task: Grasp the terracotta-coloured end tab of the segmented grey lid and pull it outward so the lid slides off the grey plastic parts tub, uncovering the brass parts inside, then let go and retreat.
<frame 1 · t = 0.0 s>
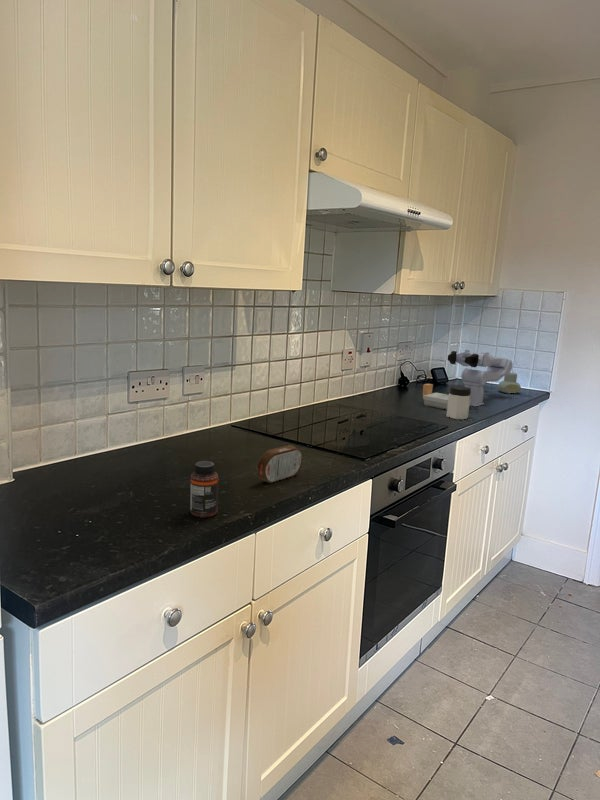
hand: (457, 358, 250), 22 cm above the countertop, tool horizontal, fingers open, 7 cm apart
jar: (457, 417, 241), on the countertop
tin: (280, 480, 156), on the countertop
air freshener: (508, 393, 304), on the countertop
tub: (446, 407, 259), on the countertop
supplement bottle: (203, 514, 132), on the countertop
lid: (444, 393, 259), point 6 cm above the countertop, slide at 0.0 cm
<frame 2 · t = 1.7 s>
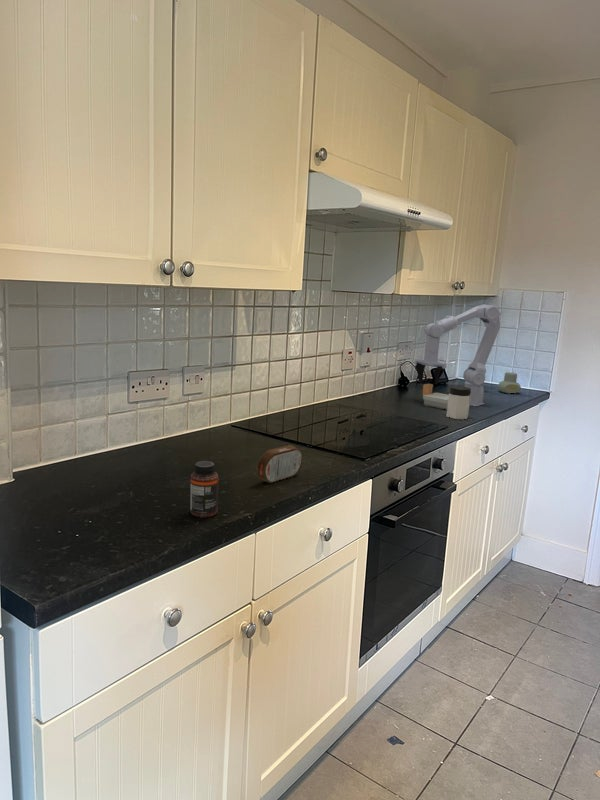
hand: (428, 382, 263), 9 cm above the countertop, tool pointing down, fingers open, 7 cm apart
nothing on the countertop moved.
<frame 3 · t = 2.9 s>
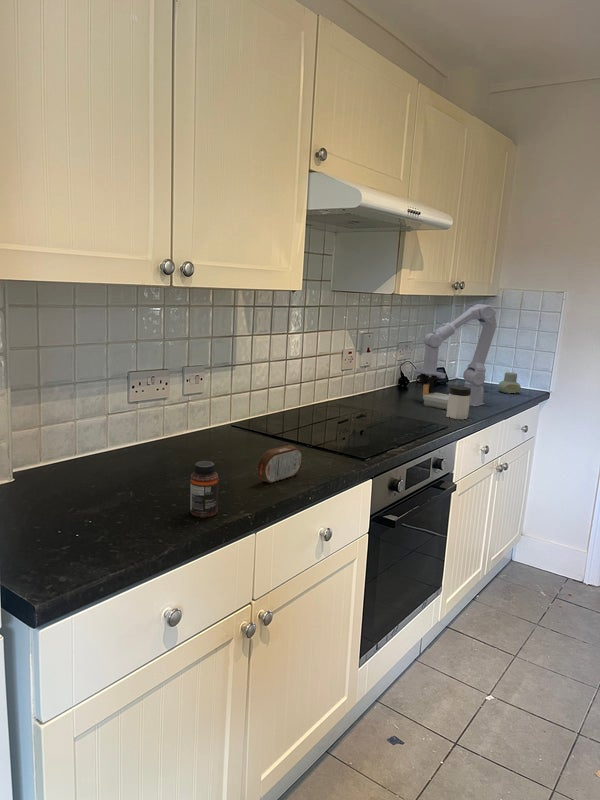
hand: (427, 392, 264), 5 cm above the countertop, tool pointing down, fingers closed on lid, 2 cm apart
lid: (444, 393, 259), point 6 cm above the countertop, slide at 0.0 cm, touching gripper
everything else where it was.
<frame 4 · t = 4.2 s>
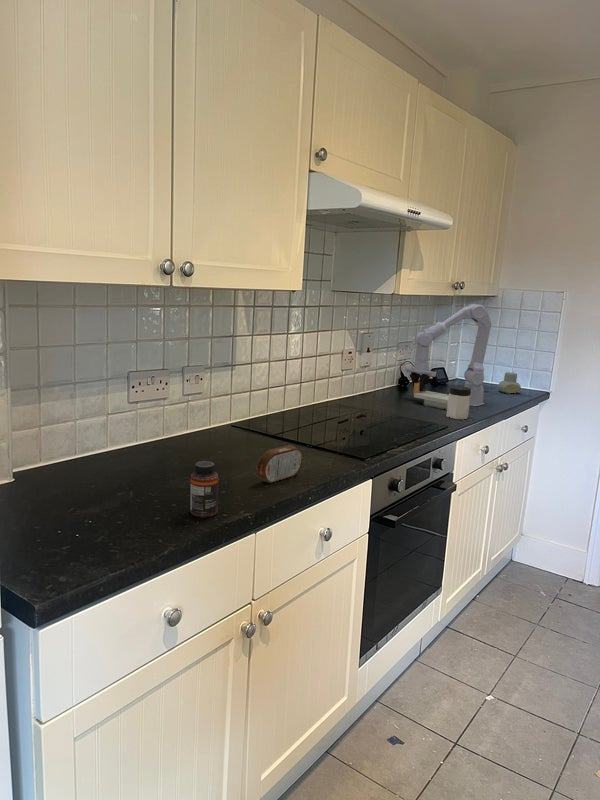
hand: (418, 390, 267), 5 cm above the countertop, tool pointing down, fingers closed on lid, 2 cm apart
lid: (435, 392, 262), point 6 cm above the countertop, slide at 4.5 cm, touching gripper
everything else where it was.
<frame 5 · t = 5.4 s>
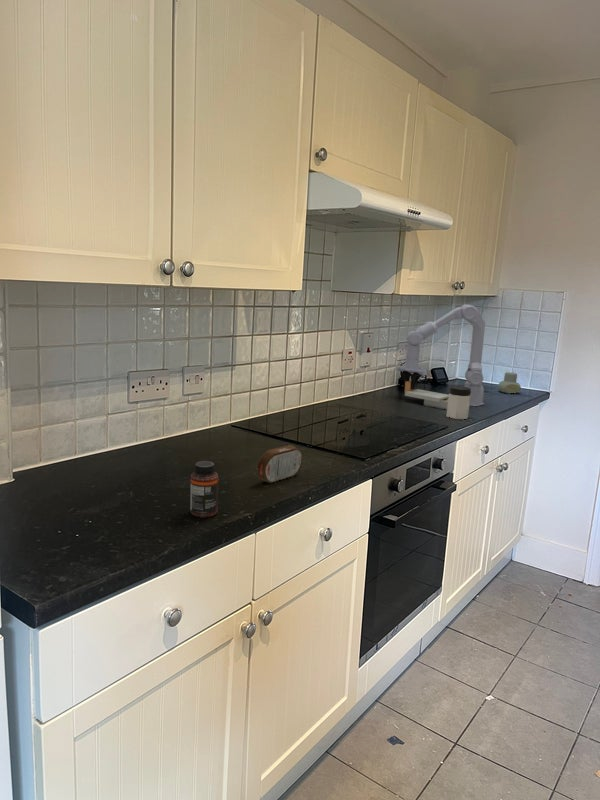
hand: (409, 388, 270), 5 cm above the countertop, tool pointing down, fingers closed on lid, 2 cm apart
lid: (426, 390, 265), point 6 cm above the countertop, slide at 9.0 cm, touching gripper
everything else where it was.
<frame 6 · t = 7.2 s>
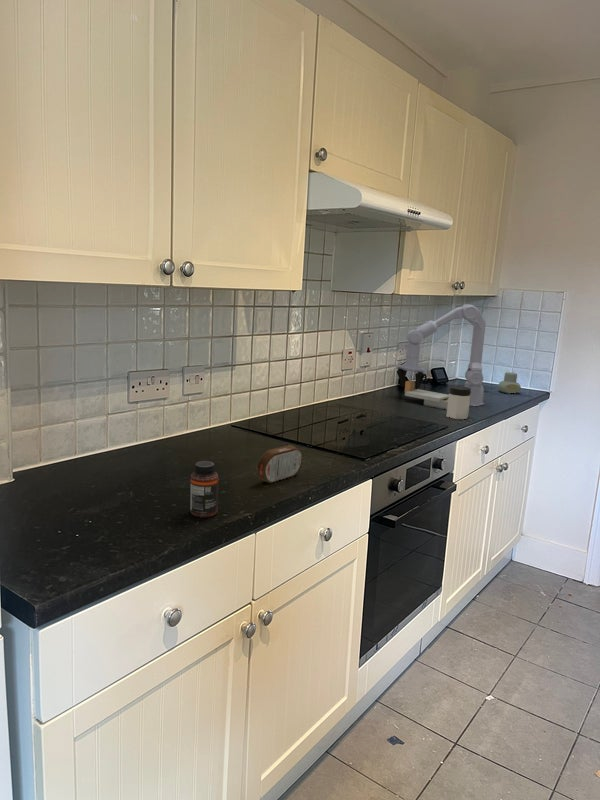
hand: (409, 387, 270), 6 cm above the countertop, tool pointing down, fingers open, 7 cm apart
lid: (426, 390, 265), point 6 cm above the countertop, slide at 9.0 cm
everything else where it was.
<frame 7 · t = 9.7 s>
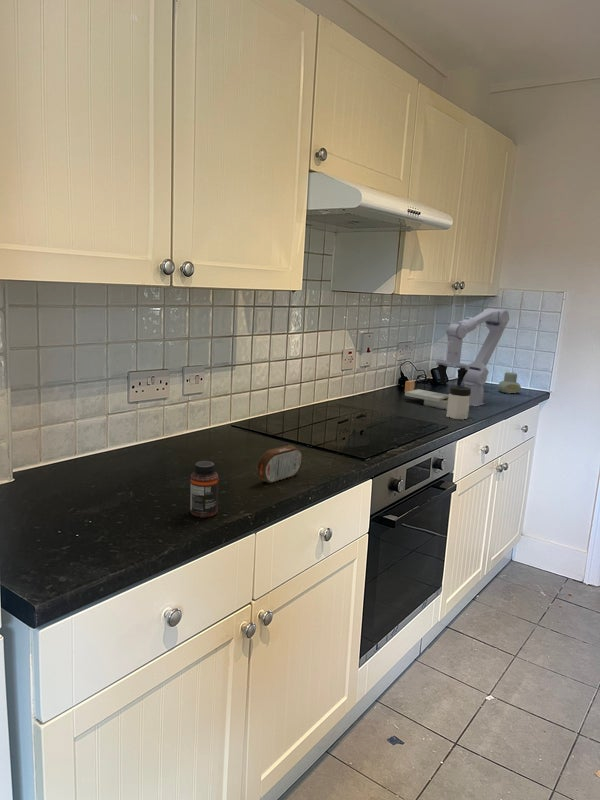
hand: (450, 384, 259), 10 cm above the countertop, tool pointing down, fingers open, 7 cm apart
nothing on the countertop moved.
at the end: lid slide at 9.0 cm; the gripper is holding nothing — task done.
